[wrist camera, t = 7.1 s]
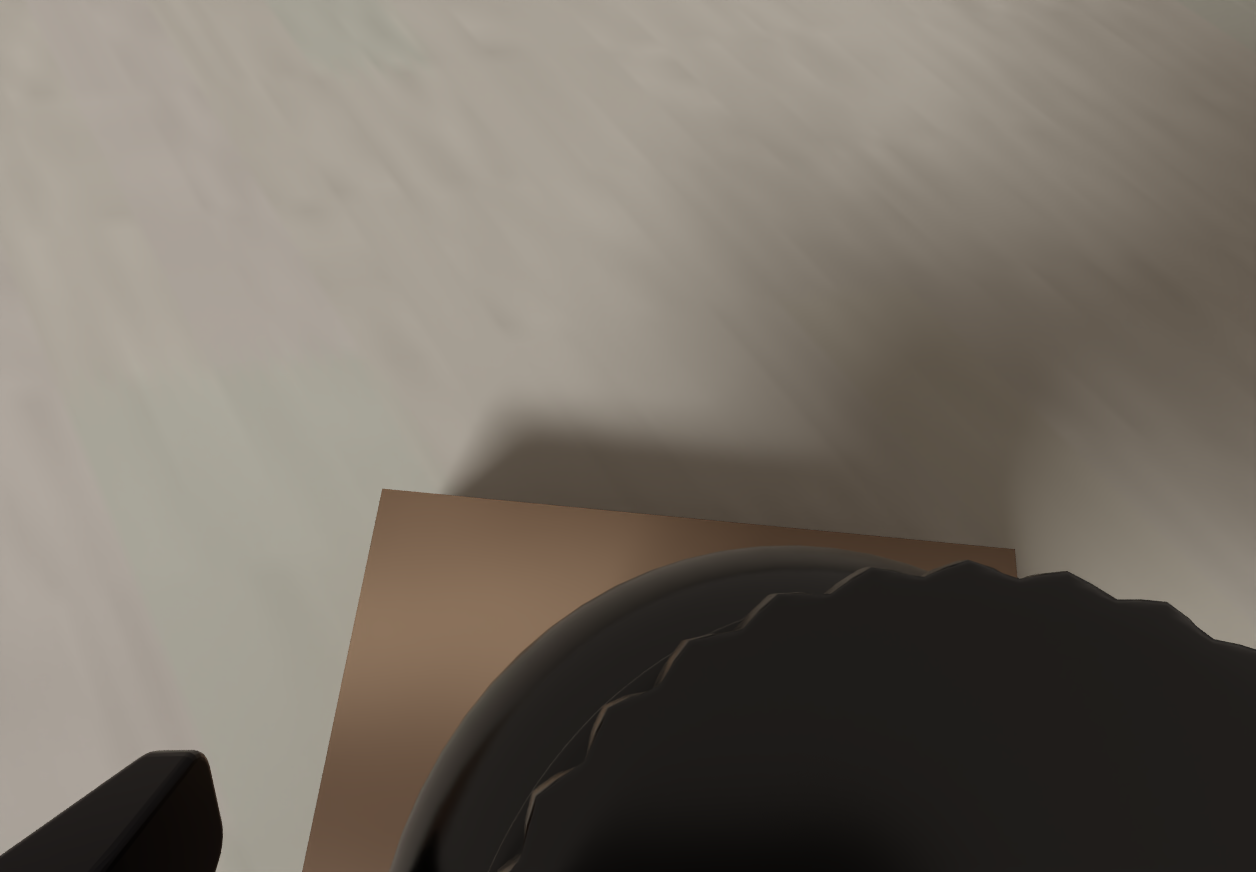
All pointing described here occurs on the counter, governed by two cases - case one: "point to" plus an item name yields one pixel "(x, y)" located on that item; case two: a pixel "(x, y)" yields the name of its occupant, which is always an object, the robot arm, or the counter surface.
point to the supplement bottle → (851, 729)
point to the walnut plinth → (492, 630)
